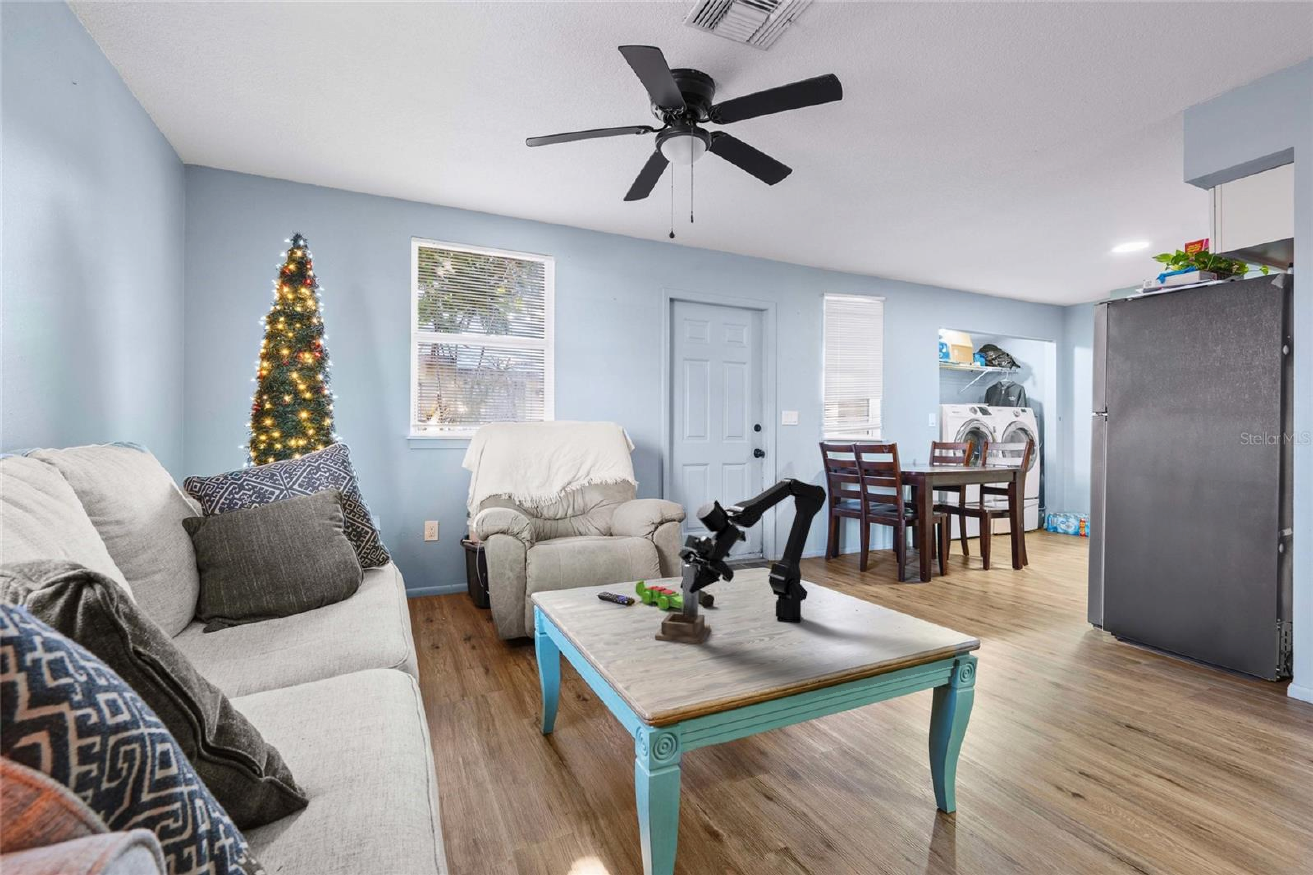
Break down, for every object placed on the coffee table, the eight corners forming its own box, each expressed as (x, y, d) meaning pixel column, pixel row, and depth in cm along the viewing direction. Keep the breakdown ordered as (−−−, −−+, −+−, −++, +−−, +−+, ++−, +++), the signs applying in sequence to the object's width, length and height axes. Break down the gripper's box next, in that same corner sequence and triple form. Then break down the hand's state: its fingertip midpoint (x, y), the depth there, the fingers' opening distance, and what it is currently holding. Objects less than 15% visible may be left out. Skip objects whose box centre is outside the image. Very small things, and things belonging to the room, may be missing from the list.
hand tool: (714, 607, 182) (714, 592, 182) (702, 608, 181) (702, 593, 181) (691, 591, 200) (691, 577, 200) (680, 592, 199) (680, 578, 198)
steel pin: (700, 614, 155) (700, 564, 155) (693, 618, 151) (693, 567, 151) (687, 612, 157) (687, 562, 157) (679, 616, 153) (679, 565, 153)
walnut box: (710, 628, 161) (710, 613, 161) (701, 643, 150) (701, 627, 150) (667, 624, 165) (667, 610, 165) (655, 639, 153) (655, 623, 153)
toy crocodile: (691, 610, 179) (691, 590, 178) (675, 614, 174) (675, 594, 174) (647, 596, 193) (648, 577, 193) (632, 600, 189) (632, 581, 189)
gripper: (684, 519, 164) (649, 563, 159) (724, 528, 147) (686, 578, 142) (708, 545, 168) (674, 589, 162) (749, 557, 151) (713, 607, 146)
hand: (685, 590), depth 153 cm, fingers closed on steel pin, 4 cm apart
